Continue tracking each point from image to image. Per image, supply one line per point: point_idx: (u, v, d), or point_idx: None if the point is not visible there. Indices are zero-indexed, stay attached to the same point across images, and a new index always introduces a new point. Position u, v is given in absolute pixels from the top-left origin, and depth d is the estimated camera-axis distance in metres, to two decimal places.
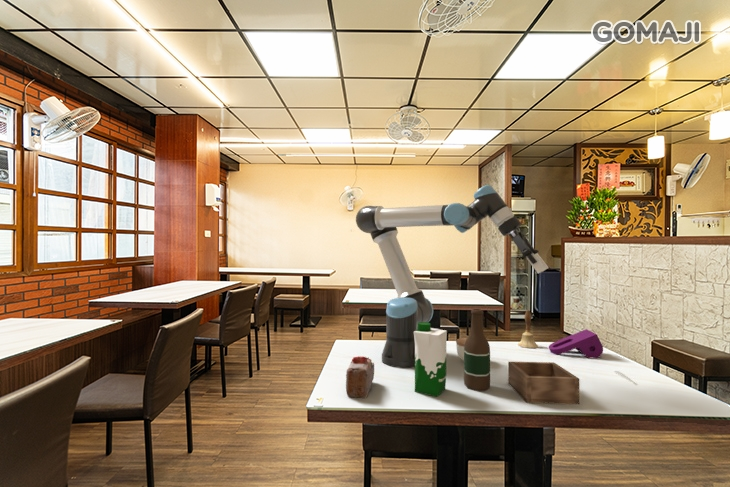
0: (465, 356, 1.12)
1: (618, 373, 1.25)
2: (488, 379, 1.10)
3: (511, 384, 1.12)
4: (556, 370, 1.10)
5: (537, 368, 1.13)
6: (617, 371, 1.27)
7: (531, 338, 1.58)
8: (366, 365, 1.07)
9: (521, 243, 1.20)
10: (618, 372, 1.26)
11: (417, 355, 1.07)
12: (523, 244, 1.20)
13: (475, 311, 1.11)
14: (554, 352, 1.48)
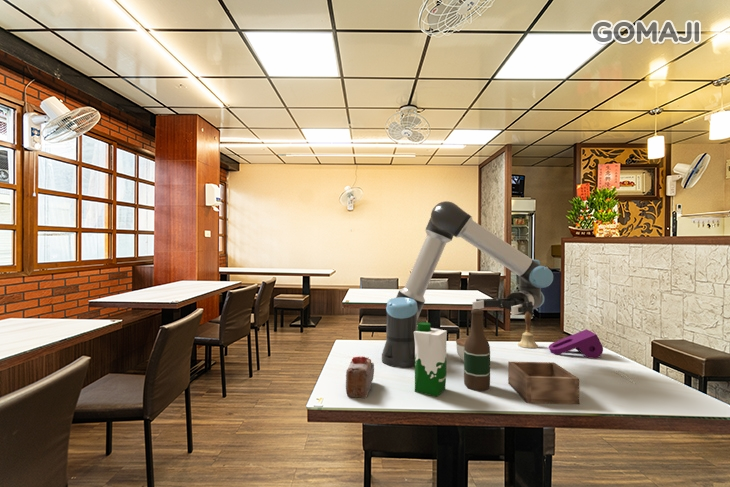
0: (465, 356, 1.12)
1: (619, 373, 1.25)
2: (488, 379, 1.10)
3: (511, 384, 1.12)
4: (556, 370, 1.10)
5: (537, 368, 1.13)
6: (618, 371, 1.27)
7: (531, 338, 1.58)
8: (366, 365, 1.07)
9: None
10: (619, 372, 1.26)
11: (417, 355, 1.07)
12: None
13: (475, 311, 1.11)
14: (554, 352, 1.48)
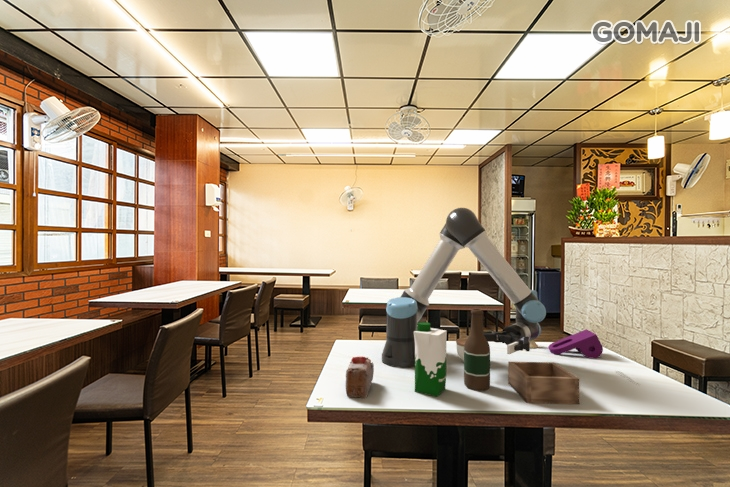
0: (465, 356, 1.12)
1: (619, 373, 1.25)
2: (488, 379, 1.10)
3: (511, 384, 1.12)
4: (556, 370, 1.10)
5: (537, 368, 1.13)
6: (618, 371, 1.27)
7: None
8: (366, 365, 1.07)
9: None
10: (619, 372, 1.26)
11: (417, 355, 1.07)
12: None
13: (475, 311, 1.11)
14: (553, 352, 1.48)
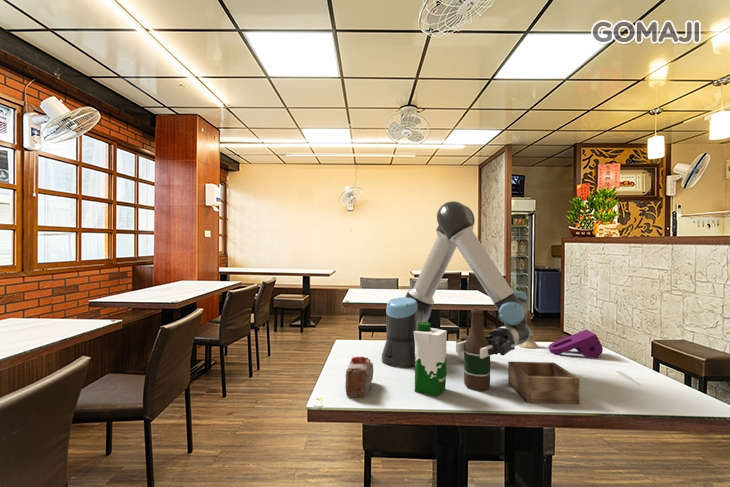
0: (465, 356, 1.12)
1: (620, 373, 1.25)
2: (488, 379, 1.10)
3: (511, 384, 1.12)
4: (556, 370, 1.10)
5: (537, 368, 1.13)
6: (619, 371, 1.27)
7: (531, 338, 1.58)
8: (365, 365, 1.07)
9: (507, 350, 1.11)
10: (620, 372, 1.26)
11: (417, 355, 1.07)
12: (506, 351, 1.11)
13: (475, 311, 1.11)
14: (553, 352, 1.48)
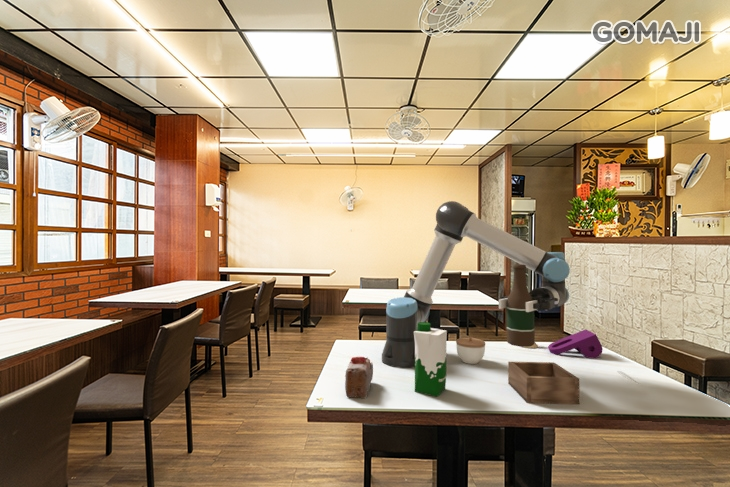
0: (508, 312, 1.09)
1: (621, 373, 1.25)
2: (533, 336, 1.07)
3: (511, 384, 1.12)
4: (556, 370, 1.10)
5: (537, 368, 1.13)
6: (620, 371, 1.27)
7: None
8: (365, 365, 1.07)
9: (552, 305, 1.08)
10: (621, 372, 1.26)
11: (417, 355, 1.07)
12: (551, 307, 1.07)
13: (518, 265, 1.08)
14: (553, 352, 1.48)
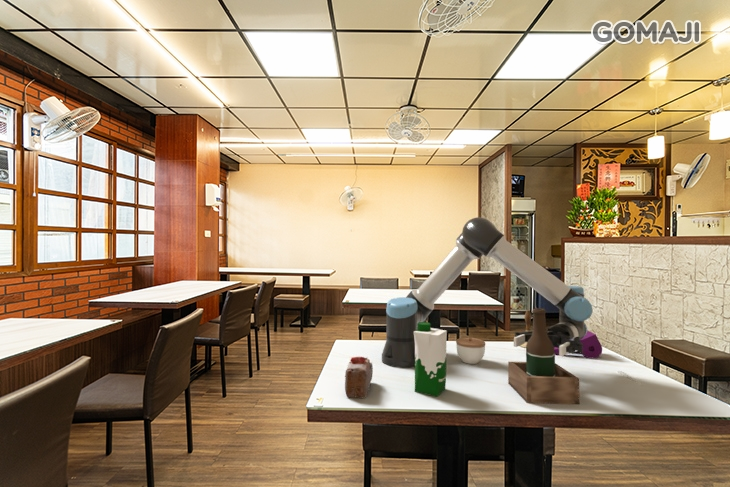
0: (528, 358, 1.07)
1: (622, 373, 1.24)
2: None
3: (511, 384, 1.12)
4: (556, 370, 1.10)
5: None
6: (621, 371, 1.27)
7: None
8: (365, 365, 1.07)
9: None
10: (622, 372, 1.25)
11: (417, 355, 1.07)
12: None
13: (537, 311, 1.06)
14: None
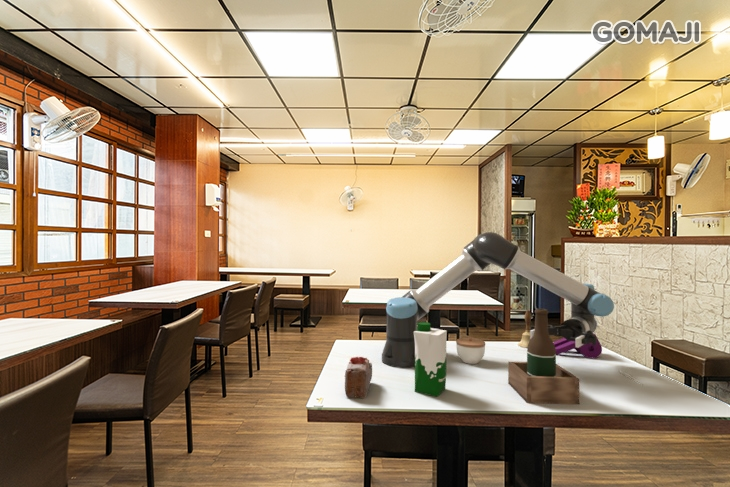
0: (529, 358, 1.07)
1: (623, 373, 1.24)
2: None
3: (511, 384, 1.12)
4: (556, 370, 1.10)
5: None
6: (622, 371, 1.27)
7: None
8: (365, 365, 1.07)
9: None
10: (623, 372, 1.25)
11: (417, 355, 1.07)
12: None
13: (540, 311, 1.06)
14: None
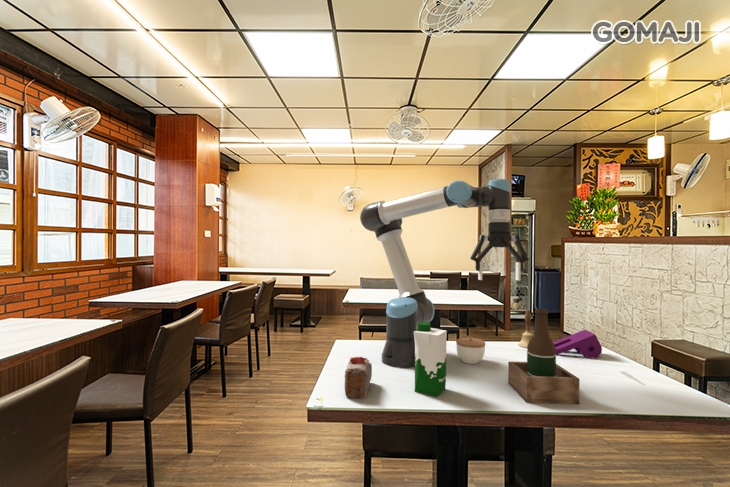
0: (529, 358, 1.07)
1: (624, 373, 1.24)
2: None
3: (511, 384, 1.12)
4: (556, 370, 1.10)
5: None
6: (622, 371, 1.27)
7: None
8: (364, 365, 1.06)
9: (475, 249, 1.31)
10: (624, 372, 1.25)
11: (417, 355, 1.07)
12: (474, 251, 1.31)
13: (540, 311, 1.06)
14: None
